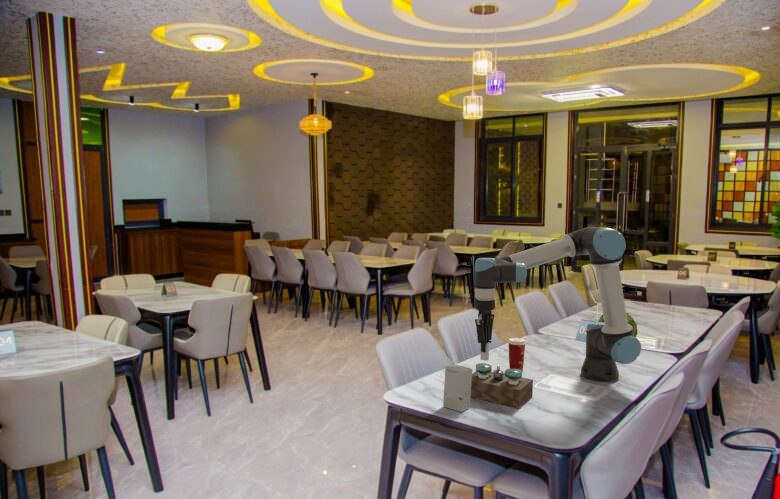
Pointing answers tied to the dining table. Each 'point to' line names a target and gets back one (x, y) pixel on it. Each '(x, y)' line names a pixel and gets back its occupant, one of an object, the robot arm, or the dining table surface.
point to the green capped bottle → (513, 376)
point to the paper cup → (516, 353)
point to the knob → (483, 370)
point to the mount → (501, 391)
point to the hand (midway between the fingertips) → (484, 359)
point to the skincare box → (457, 387)
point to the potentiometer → (498, 374)
